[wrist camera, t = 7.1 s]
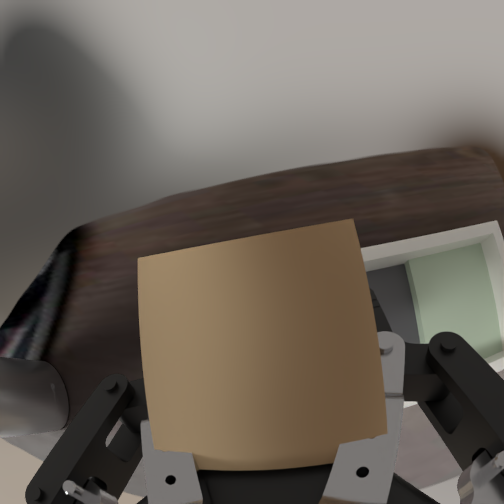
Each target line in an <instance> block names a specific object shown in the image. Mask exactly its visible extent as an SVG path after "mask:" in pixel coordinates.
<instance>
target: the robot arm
mask: <svg viewBox="0 0 504 504" xmlns="http://www.w3.org/2000/svg"><path fill="white" fill-rule="evenodd" d="M369 290H370V295H371V300H372V305H373V311H374V317H375V323H376V329H377V335H378V342H379V349H380V356H381V364H382V372H383V381H384V391H385V402H386V415H387V431H388V434H384V435H380V436H376V437H375V438H373V439H370V438H367V439H363V440H358V441H353V442H348V443H343V444H339V448H338V451H337V454H336V458H335V461H334V463H329V464H322V465H315V466H307V467H297V468H287V469H272V470H242V471H234V470H203V469H199V467H198V465H197V463H196V461H195V458H194V456H193V454H192V453H187V452H174V451H167V452H163V451H162V450H155V449H154V444H153V439H152V433H151V427H150V421H149V415H148V408H147V400H146V393H145V384H144V378H142V379H138V380H135V381H131V382H129V381H128V380H127V378H126V377H125V376H124V375H122V374H112V375H110V376H108V377H106V378H105V379H103V380H102V381H101V382H100V384H99V385H98V386H97V388H96V389H95V390H94V392H93V393H92V394H91V396H90V397H89V399H88V400H87V401H86V403H85V404H84V405H83V407H82V408H81V409H80V411H79V412H78V414H77V415H76V416H75V418H74V419H73V421H72V422H71V423H70V425H69V426H68V428H67V429H66V430H65V432H64V433H63V435H62V436H61V437H60V439H59V440H58V442H57V443H56V445H55V446H54V447H53V449H52V450H51V452H50V453H49V455H48V456H47V458H46V459H45V461H44V462H43V464H42V465H41V467H40V468H39V469H38V471H37V473H36V474H35V476H34V477H33V479H32V480H31V482H30V483H29V485H28V486H27V489H26V492H25V498H26V502H27V504H118V499H119V497H120V495H121V494H122V492H123V490H124V488H125V487H126V485H127V483H128V481H129V480H130V478H131V476H132V474H133V473H134V471H135V469H136V467H137V466H138V464H139V462H140V460H141V458H142V457H143V464H144V473H145V482H146V490H147V496H146V497H144V498H143V499H142V500H141V501H139V502H138V503H137V504H440V503H438V502H436V501H435V500H434V499H432V498H430V497H429V496H428V495H426V494H424V493H423V492H421V491H420V490H418V489H417V488H415V487H414V486H413V485H411V484H410V483H408V482H407V481H405V480H404V479H402V478H401V477H400V476H398V475H397V474H395V473H394V468H395V463H396V457H397V451H398V445H399V439H400V432H401V425H402V416H403V407H404V401H413V402H417V403H418V405H419V406H420V408H421V409H422V410H423V412H424V413H425V415H426V416H427V418H428V419H429V421H430V422H431V423H432V425H433V426H434V428H435V429H436V431H437V432H438V434H439V435H440V437H441V438H442V440H443V441H444V443H445V444H446V446H447V447H448V449H449V450H450V452H451V453H452V455H453V456H454V458H455V459H456V461H457V463H458V464H459V466H460V467H461V469H462V470H463V472H462V474H461V475H460V477H459V480H458V484H457V489H458V493H459V496H460V504H504V380H503V379H502V378H501V377H500V376H499V375H498V374H497V373H496V371H495V370H494V369H493V368H492V367H491V366H490V365H489V364H488V363H487V362H486V361H485V360H484V359H483V358H482V357H481V356H480V355H479V354H478V353H477V352H476V351H475V350H474V349H473V348H472V347H471V346H470V345H469V344H468V343H467V342H466V341H465V340H464V339H463V338H462V337H461V336H460V335H458V334H456V333H454V332H449V331H445V332H440V333H437V334H435V335H434V336H433V337H432V338H431V339H430V342H429V344H414V343H407V342H404V340H403V339H402V338H401V337H400V336H399V335H397V334H396V333H393V331H392V329H391V327H390V325H389V323H388V320H387V318H386V316H385V314H384V312H383V310H382V308H381V306H380V303H379V301H378V300H377V297H376V295H375V293H374V291H373V290H372V289H371V288H369ZM68 412H69V405H68V397H67V392H66V389H65V386H64V383H63V381H62V379H61V377H60V375H59V373H58V372H57V371H56V369H55V368H54V367H53V366H52V365H51V364H49V363H48V362H45V361H37V360H25V359H16V358H6V357H0V438H5V437H15V436H23V435H31V434H39V433H45V432H51V431H57V430H60V429H62V428H63V427H64V426H65V424H66V422H67V419H68ZM118 419H119V420H120V421H121V422H122V425H121V427H120V428H119V430H118V431H117V433H116V434H115V436H114V438H113V439H112V441H111V442H110V444H109V445H108V447H106V444H105V442H106V438H107V436H108V435H109V433H110V432H111V430H112V428H113V427H114V425H115V424H116V422H117V421H118Z"/></svg>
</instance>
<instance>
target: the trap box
mask: <svg viewBox="0 0 504 504" xmlns="http://www.w3.org/2000/svg"><path fill="white" fill-rule="evenodd" d="M361 253H362V257H363V261H364V266H365V270H366V275H367V280H368V285H369V288H371V289H372V290H373V291H374V293H375V295H376V297H377V300H378V301H379V303H380V306H381V308H382V310H383V312H384V314H385V316H386V318H387V320H388V323H389V325H390V327H391V329H392V331H393V333H396V334H397V335H399V336H400V337H401V338H402V339H403V340H404V342H407V343H414V344H429V342H430V339H431V338H432V337H433V336H434V335H435V334H437V333H440V332H445V331H449V332H454V333H456V334H458V335H460V336H461V337H462V338H463V339H464V340H465V341H466V342H467V343H468V344H469V345H470V346H471V347H472V348H473V349H474V350H475V351H476V352H477V353H478V354H479V355H480V356H481V357H482V358H483V359H484V360H485V361H486V362H487V363H488V364H489V365H490V366H491V367H492V368H493V369H494V370H495V371H496V373H497V372H499V371H501V370H503V369H504V240H503V236H502V233H501V230H500V227H499V225H498V222H497V220H496V221H491V222H487V223H482V224H477V225H473V226H468V227H463V228H459V229H454V230H449V231H444V232H440V233H435V234H430V235H425V236H420V237H415V238H410V239H405V240H400V241H395V242H390V243H385V244H380V245H375V246H370V247H365V248H361ZM415 404H418V403H417V402H413V401H404V407H403V408H405V407H408V406H412V405H415Z"/></svg>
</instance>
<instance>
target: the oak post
mask: <svg viewBox="0 0 504 504" xmlns="http://www.w3.org/2000/svg"><path fill="white" fill-rule="evenodd" d="M138 305H139V327H140V342H141V355H142V366H143V376H144V384H145V393H146V400H147V408H148V415H149V421H150V427H151V433H152V439H153V444H154V449H155V450H162V451H163V452H167V451H174V452H187V453H192V454H193V456H194V458H195V461H196V463H197V465H198V467H199V469H203V470H234V471H242V470H272V469H287V468H297V467H307V466H315V465H322V464H329V463H334V461H335V458H336V454H337V451H338V448H339V444H343V443H348V442H353V441H358V440H363V439H367V438H370V439H373V438H375V437H376V436H380V435H384V434H388V431H387V415H386V402H385V391H384V381H383V372H382V364H381V356H380V349H379V342H378V335H377V329H376V323H375V317H374V311H373V305H372V300H371V295H370V290H369V285H368V280H367V275H366V270H365V266H364V261H363V257H362V253H361V248H360V244H359V240H358V236H357V232H356V228H355V224H354V220H353V219H347V220H341V221H335V222H330V223H324V224H318V225H312V226H307V227H301V228H295V229H290V230H284V231H279V232H273V233H268V234H262V235H257V236H251V237H246V238H240V239H235V240H230V241H224V242H219V243H214V244H208V245H203V246H198V247H193V248H188V249H182V250H177V251H172V252H167V253H162V254H157V255H152V256H147V257H142V258H138Z"/></svg>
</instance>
